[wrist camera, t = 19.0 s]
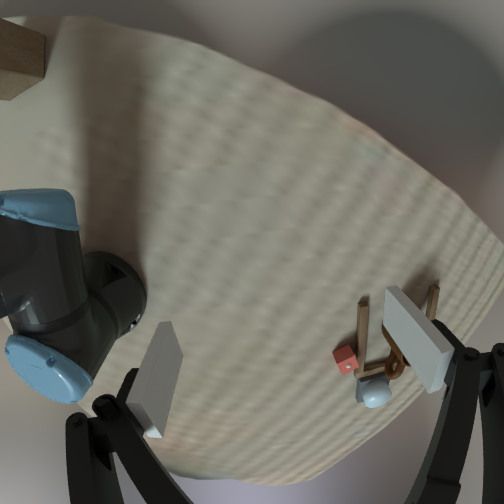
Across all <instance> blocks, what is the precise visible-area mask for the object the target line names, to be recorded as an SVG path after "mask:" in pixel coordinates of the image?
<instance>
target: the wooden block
mask: <svg viewBox="0 0 504 504" xmlns="http://www.w3.org/2000/svg"><path fill="white" fill-rule="evenodd" d="M44 50H45V36H44V35H42V34H40V33H37V32H35V31H32V30H30V29H28V28H25V27H23V26H20V25H17V24H15V23H12V22H9V21H7V20H4V19H1V18H0V100H8V101H9V100H11V99H13V98H14V97H16V96H17V95H19V94H20V93H22V92H23V91H25V90H26V89H28V88H30V87H31V86H33V85H34V84H36V83H38V82H39V81H41V80H43V79H44Z"/></svg>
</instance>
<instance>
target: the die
mask: <svg viewBox="0 0 504 504" xmlns="http://www.w3.org/2000/svg"><path fill="white" fill-rule="evenodd" d="M332 353H333V355H334V358H335V361H336V363H337V365H338V367H339V369H340V371H341V373H342V375H344V374H346V373H348V372H350V371H352V370H354V369H356V368H358V367H359V365H358V362H357V360H356V358H355V356H354V354H353V351H352V349H351V347H350V345H349V344H348V345H346V346H344V347H342V348H340V349H338V350H336V351H334V352H332Z"/></svg>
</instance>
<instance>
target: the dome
mask: <svg viewBox="0 0 504 504" xmlns="http://www.w3.org/2000/svg"><path fill="white" fill-rule="evenodd" d="M391 394H392V392H391V390H390V388H389V386H388V384H387V382H386V381H385V380H382V379H378V380H374V381H372V382H370V383H368V384H367V385H366V386H365V387H364V388H363V390H362V392H361V395H362V397H363V400H364V402H365V404H366V406H367V407H369V408H375V407H378V406H381V405H382V404H384V403H385V402H387V401H388V400H389V398H390V397H391Z"/></svg>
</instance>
